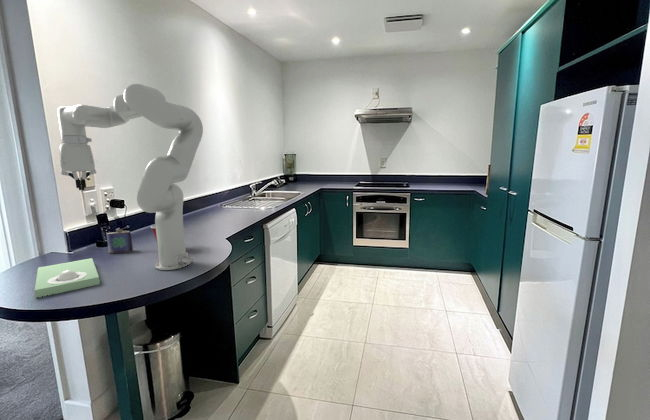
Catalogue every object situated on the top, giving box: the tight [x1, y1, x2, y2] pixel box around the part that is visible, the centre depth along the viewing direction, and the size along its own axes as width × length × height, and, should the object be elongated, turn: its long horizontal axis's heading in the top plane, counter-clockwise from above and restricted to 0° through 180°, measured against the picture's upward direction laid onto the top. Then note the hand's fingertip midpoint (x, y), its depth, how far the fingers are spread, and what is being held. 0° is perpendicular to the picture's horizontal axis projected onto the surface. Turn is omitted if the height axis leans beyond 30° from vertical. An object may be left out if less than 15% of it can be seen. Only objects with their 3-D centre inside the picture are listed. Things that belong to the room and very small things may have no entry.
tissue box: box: [34, 257, 101, 299], centre depth 112 cm, size 26×16×3 cm, turn 39°
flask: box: [105, 227, 134, 254], centre depth 143 cm, size 9×3×11 cm, turn 109°
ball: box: [58, 270, 77, 281], centre depth 107 cm, size 5×5×5 cm
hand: (81, 189), depth 125 cm, fingers closed
